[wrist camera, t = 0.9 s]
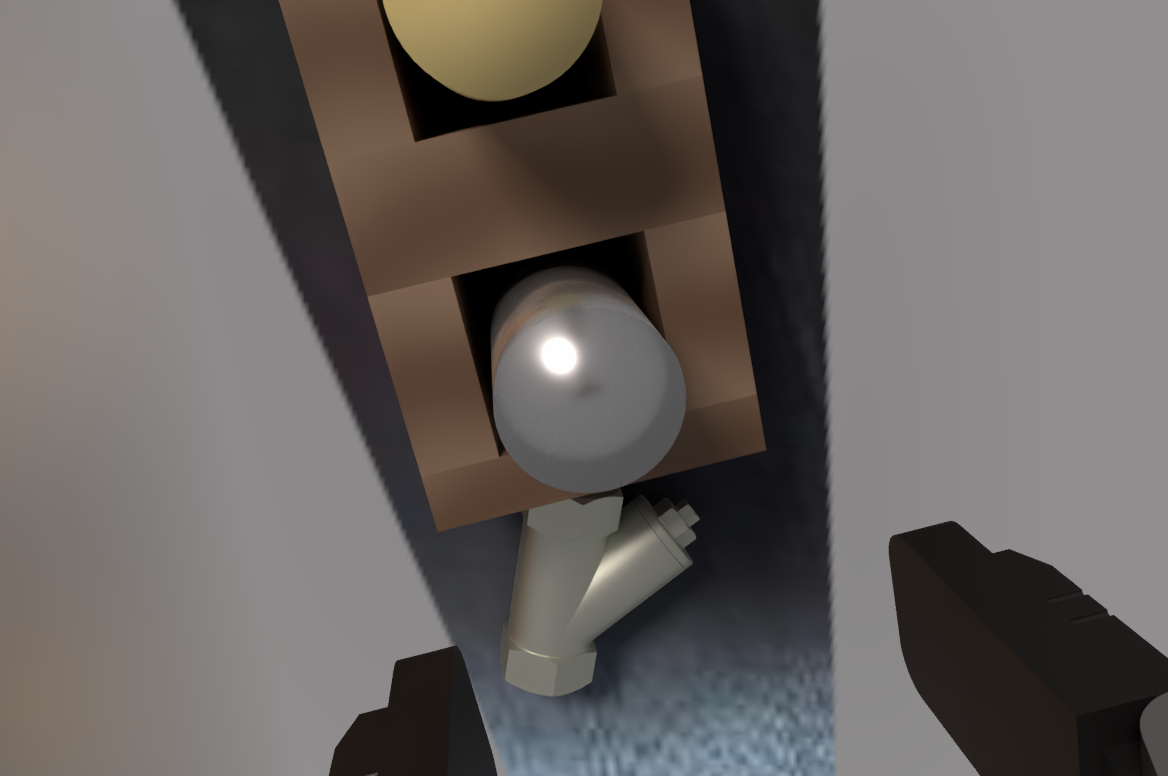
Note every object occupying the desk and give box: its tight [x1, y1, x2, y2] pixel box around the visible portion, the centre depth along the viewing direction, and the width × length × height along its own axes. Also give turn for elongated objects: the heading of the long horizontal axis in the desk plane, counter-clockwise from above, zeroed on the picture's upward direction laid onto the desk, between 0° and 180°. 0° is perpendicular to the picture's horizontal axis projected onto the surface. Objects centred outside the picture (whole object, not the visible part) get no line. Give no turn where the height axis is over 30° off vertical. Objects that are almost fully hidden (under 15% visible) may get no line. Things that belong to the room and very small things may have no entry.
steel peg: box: [490, 257, 686, 493], centre depth 24 cm, size 4×4×8 cm
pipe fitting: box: [500, 487, 699, 696], centre depth 35 cm, size 8×4×7 cm
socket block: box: [279, 0, 766, 532], centre depth 28 cm, size 18×10×8 cm, turn 12°
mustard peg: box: [383, 0, 603, 102], centre depth 22 cm, size 4×4×8 cm
